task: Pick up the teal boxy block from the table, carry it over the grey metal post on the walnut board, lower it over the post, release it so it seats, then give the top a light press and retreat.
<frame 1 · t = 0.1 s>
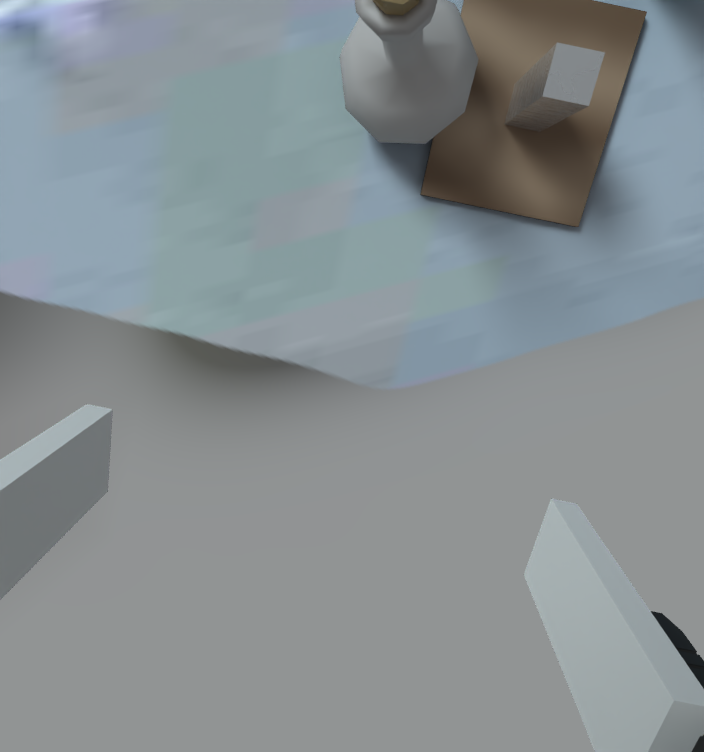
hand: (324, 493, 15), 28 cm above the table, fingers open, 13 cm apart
board: (525, 109, 37), on the table
potion bottle: (407, 88, 37), on the table, touching board
post: (547, 93, 32), on the board, point 5 cm above the table
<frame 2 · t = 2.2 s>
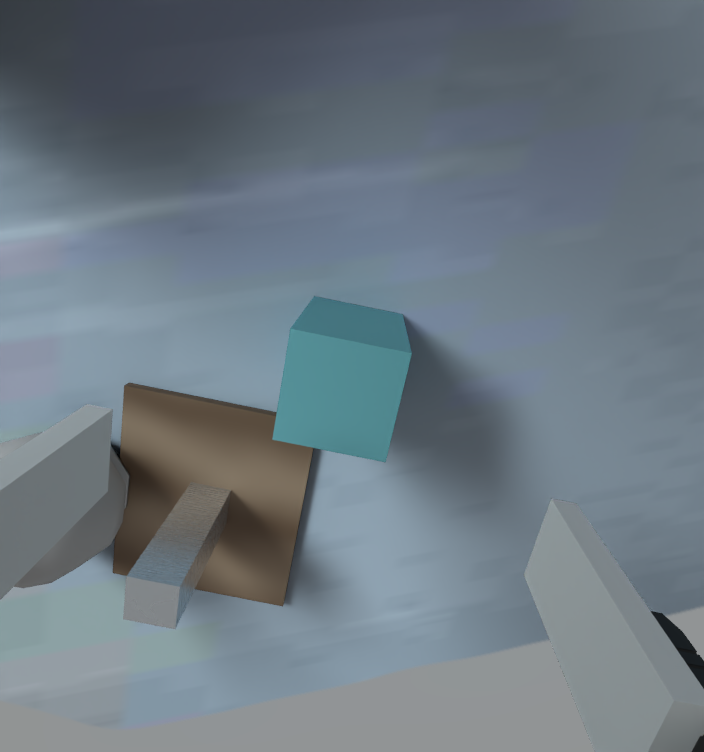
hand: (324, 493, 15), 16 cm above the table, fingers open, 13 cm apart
teal boxy block: (349, 347, 31), on the table
board: (211, 498, 34), on the table
potion bottle: (83, 477, 34), on the table, touching board
post: (184, 546, 29), on the board, point 5 cm above the table
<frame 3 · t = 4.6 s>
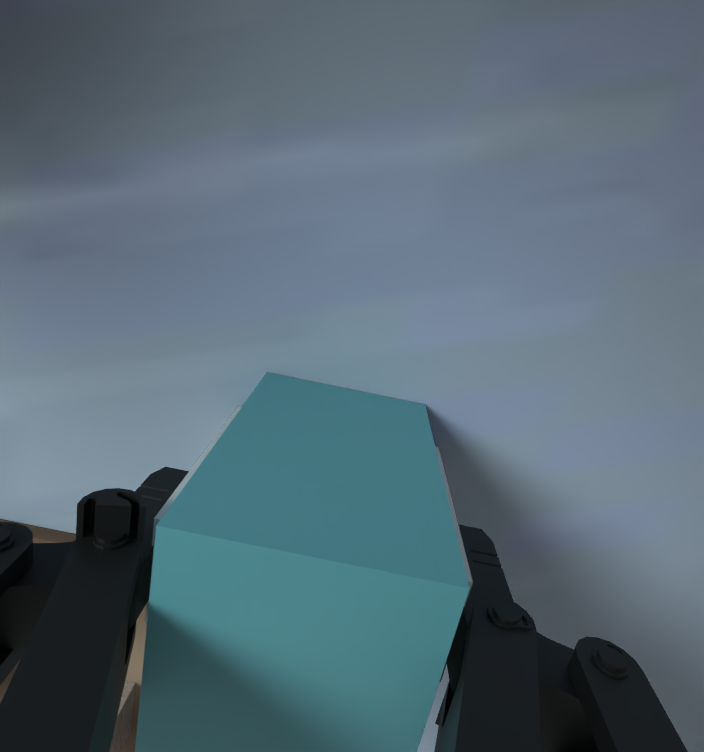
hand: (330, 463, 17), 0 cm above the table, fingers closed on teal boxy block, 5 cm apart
teal boxy block: (331, 460, 17), on the table, touching gripper
board: (108, 687, 21), on the table
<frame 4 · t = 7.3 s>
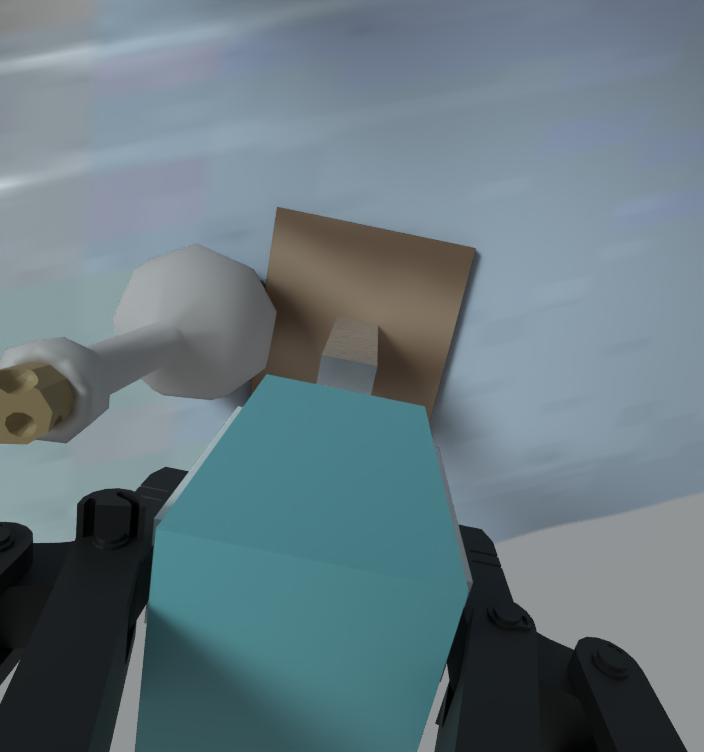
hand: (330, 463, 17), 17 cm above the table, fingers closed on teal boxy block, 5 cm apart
teal boxy block: (331, 461, 17), point 17 cm above the table, touching gripper
board: (353, 338, 33), on the table
potion bottle: (222, 315, 33), on the table, touching board
post: (349, 360, 28), on the board, point 5 cm above the table
when the fingers open (3 cm above the table, at t = 10.4 s): teal boxy block drops 1 cm, resting on post.
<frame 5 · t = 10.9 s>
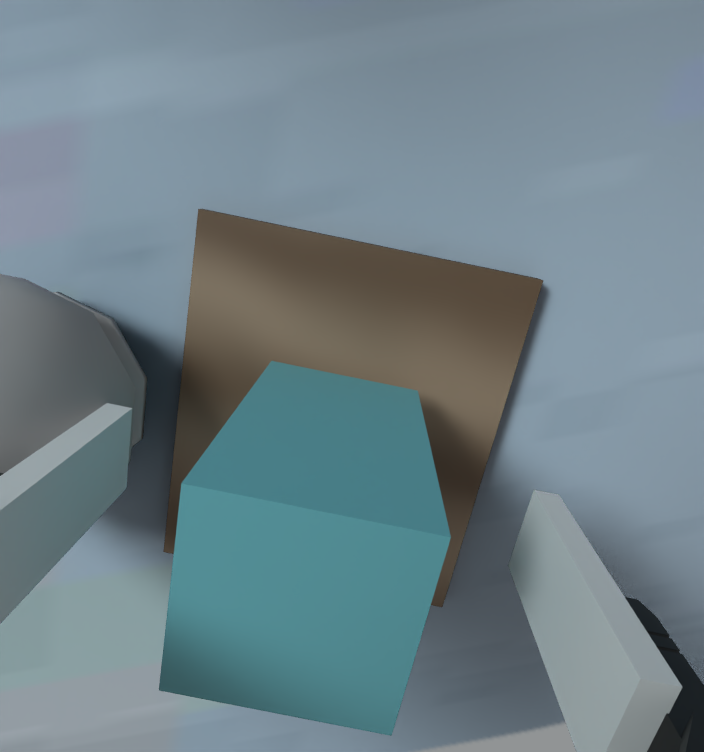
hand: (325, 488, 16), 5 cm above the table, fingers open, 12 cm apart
teal boxy block: (331, 442, 19), point 2 cm above the table, touching post
board: (335, 424, 20), on the table
potion bottle: (74, 385, 20), point 1 cm above the table, touching gripper
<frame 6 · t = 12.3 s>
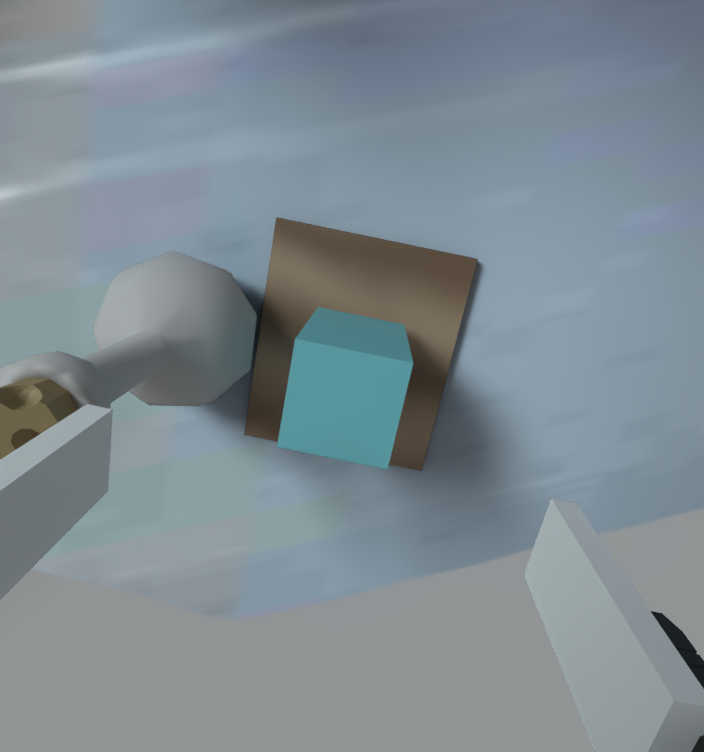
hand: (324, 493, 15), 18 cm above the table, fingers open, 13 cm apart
teal boxy block: (352, 357, 31), point 2 cm above the table, touching post
board: (354, 350, 33), on the table
potion bottle: (200, 321, 33), on the table
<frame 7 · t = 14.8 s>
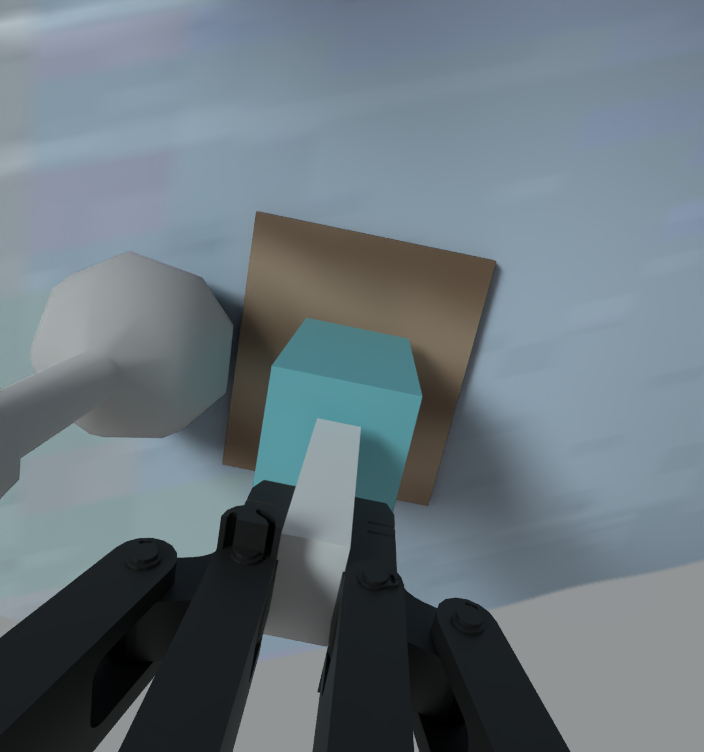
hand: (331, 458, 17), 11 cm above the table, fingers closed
teal boxy block: (347, 376, 26), point 2 cm above the table, touching post
board: (349, 367, 28), on the table
potion bottle: (169, 334, 28), on the table
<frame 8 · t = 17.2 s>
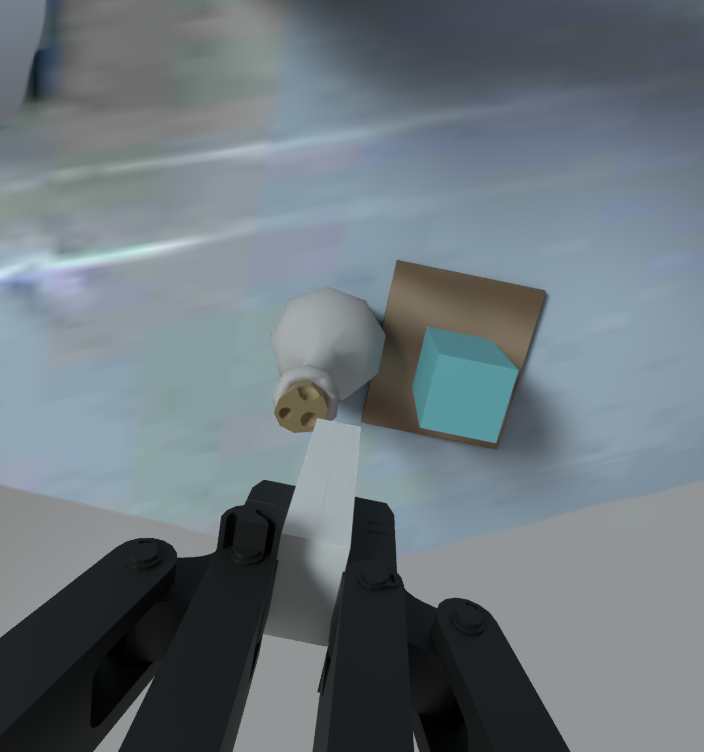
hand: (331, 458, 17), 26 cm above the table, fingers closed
teal boxy block: (450, 363, 42), point 2 cm above the table, touching post
board: (448, 357, 43), on the table
potion bottle: (331, 336, 44), on the table
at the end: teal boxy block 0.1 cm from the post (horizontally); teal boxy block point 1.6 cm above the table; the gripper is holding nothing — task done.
